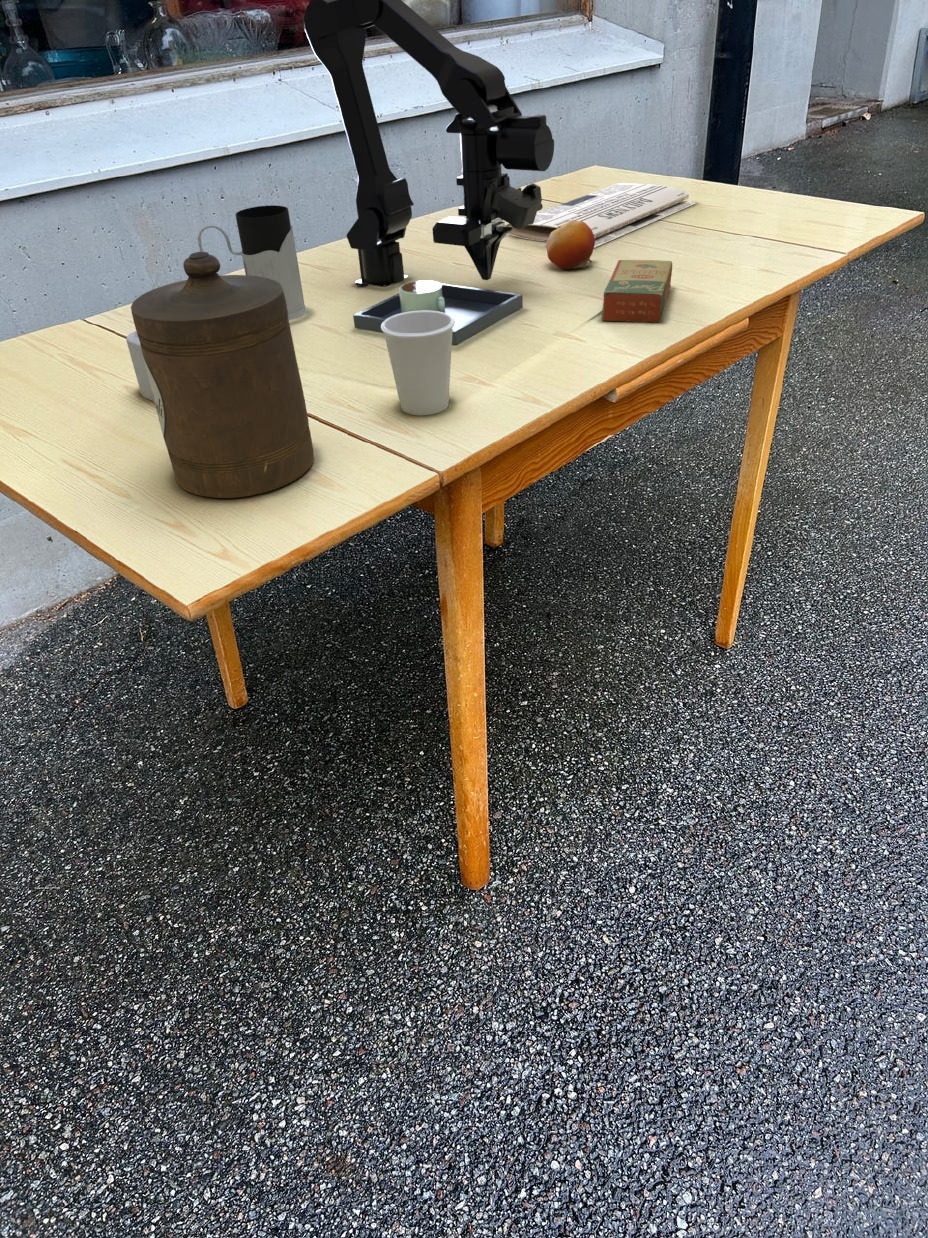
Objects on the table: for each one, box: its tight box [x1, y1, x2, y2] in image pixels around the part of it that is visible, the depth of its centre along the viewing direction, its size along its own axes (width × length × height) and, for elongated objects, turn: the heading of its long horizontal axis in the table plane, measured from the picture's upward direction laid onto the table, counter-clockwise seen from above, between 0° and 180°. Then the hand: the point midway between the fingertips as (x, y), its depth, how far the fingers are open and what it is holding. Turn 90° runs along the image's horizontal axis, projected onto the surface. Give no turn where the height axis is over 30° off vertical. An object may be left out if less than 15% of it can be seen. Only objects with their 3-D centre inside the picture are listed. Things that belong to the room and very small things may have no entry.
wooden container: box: [130, 251, 315, 499], centre depth 93 cm, size 15×15×22 cm
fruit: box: [545, 221, 595, 271], centre depth 152 cm, size 8×8×8 cm
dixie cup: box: [381, 310, 455, 416], centre depth 107 cm, size 8×8×10 cm
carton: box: [601, 259, 673, 323], centre depth 135 cm, size 8×16×4 cm, turn 165°
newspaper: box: [505, 182, 697, 249], centre depth 177 cm, size 37×19×3 cm, turn 140°
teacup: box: [398, 280, 445, 313], centre depth 130 cm, size 7×6×6 cm
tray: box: [352, 282, 524, 346], centre depth 134 cm, size 18×18×2 cm
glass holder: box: [197, 204, 309, 322], centre depth 136 cm, size 9×14×15 cm, turn 94°
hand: (486, 279), depth 142 cm, fingers closed
